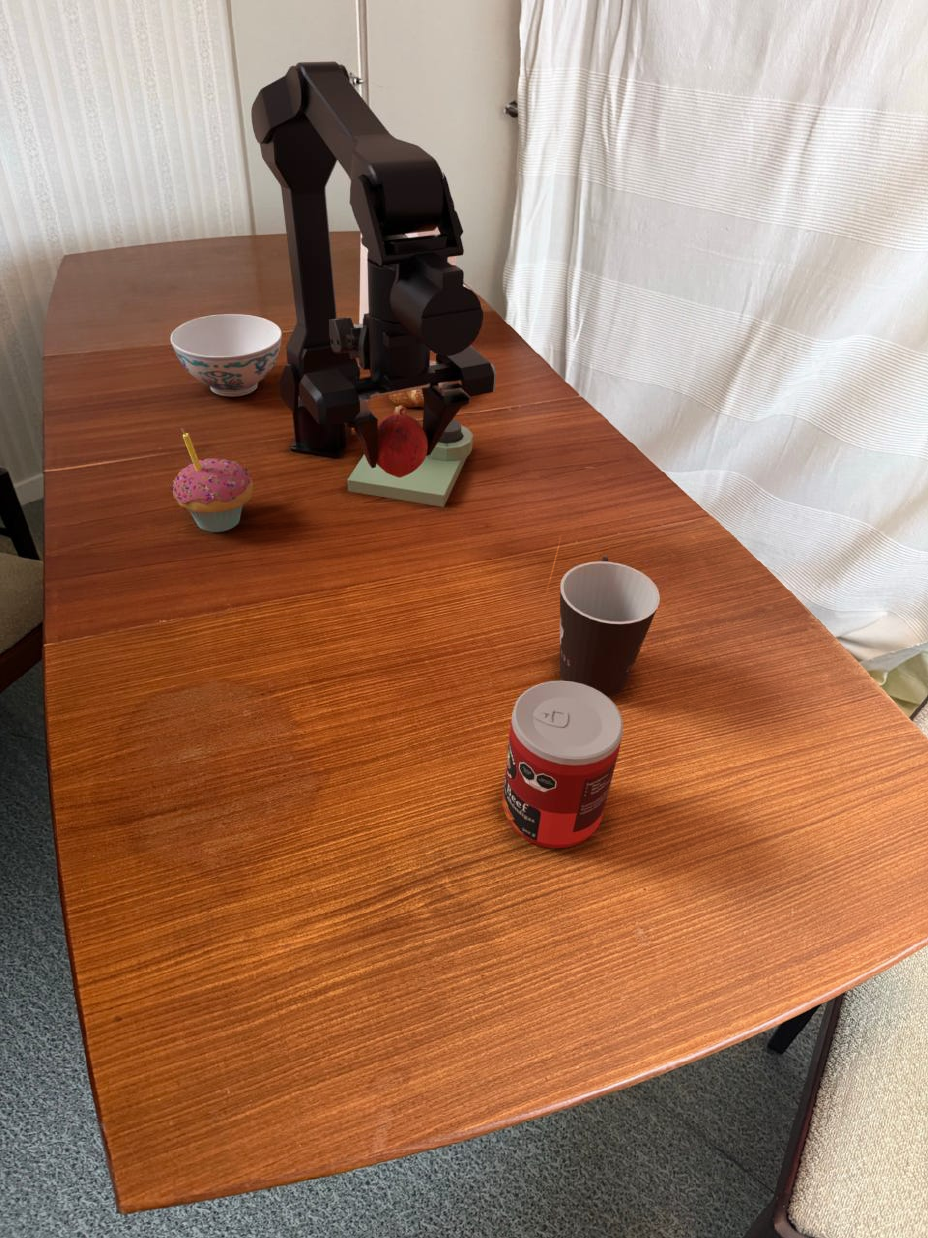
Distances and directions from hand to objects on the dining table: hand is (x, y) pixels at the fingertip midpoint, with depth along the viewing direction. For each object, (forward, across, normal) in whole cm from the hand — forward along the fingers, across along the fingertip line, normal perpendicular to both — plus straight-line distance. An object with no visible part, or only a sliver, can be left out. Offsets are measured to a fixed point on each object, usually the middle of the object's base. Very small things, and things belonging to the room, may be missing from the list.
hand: (399, 459), depth 86 cm
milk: (+12, -27, -55) cm, 62 cm away
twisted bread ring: (+11, -19, -32) cm, 38 cm away
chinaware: (+12, +6, -45) cm, 47 cm away
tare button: (+8, -13, -14) cm, 21 cm away
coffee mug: (+10, -9, +26) cm, 30 cm away
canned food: (+10, +4, +39) cm, 40 cm away
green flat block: (+11, -8, -13) cm, 19 cm away
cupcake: (+11, +17, -12) cm, 24 cm away
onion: (+2, 0, 0) cm, 2 cm away
